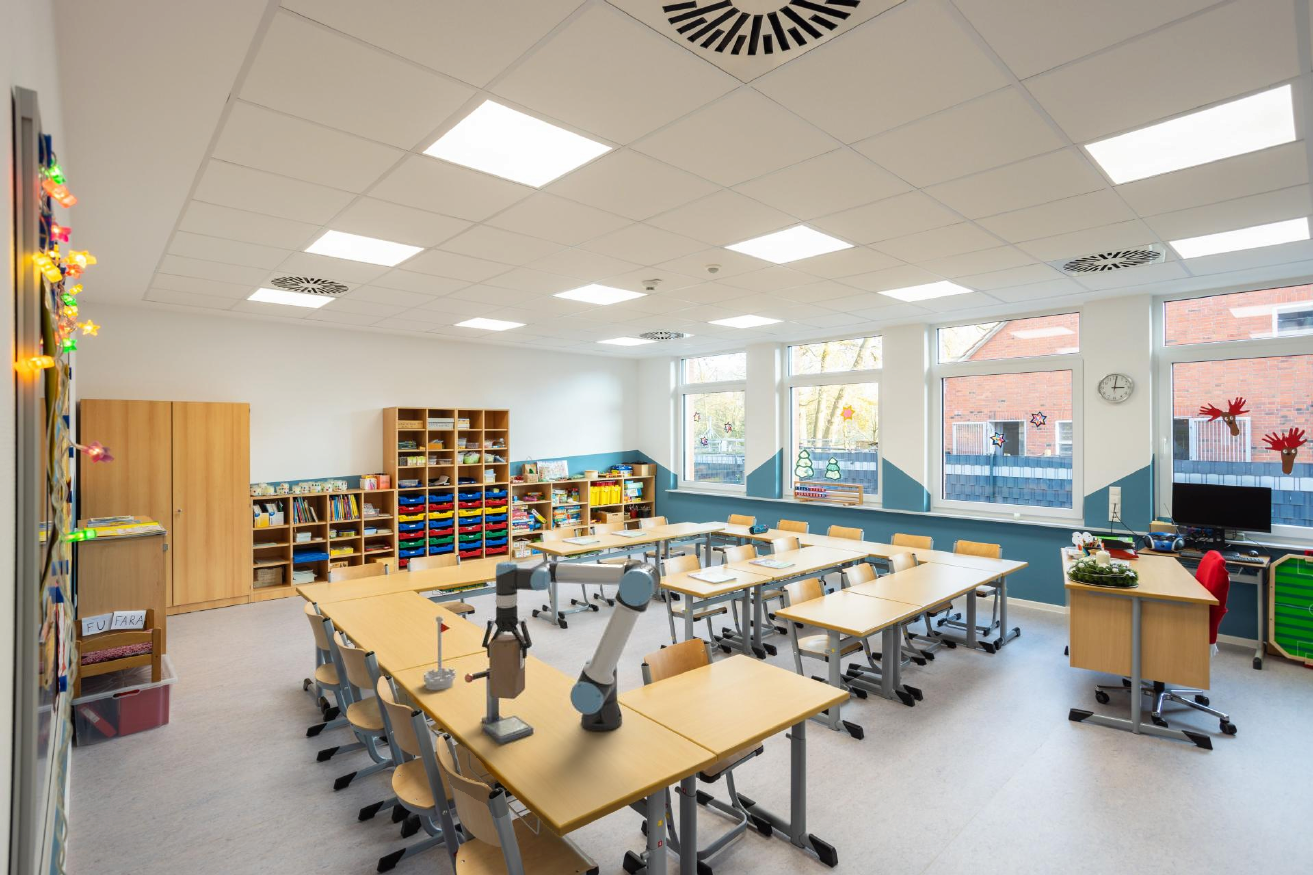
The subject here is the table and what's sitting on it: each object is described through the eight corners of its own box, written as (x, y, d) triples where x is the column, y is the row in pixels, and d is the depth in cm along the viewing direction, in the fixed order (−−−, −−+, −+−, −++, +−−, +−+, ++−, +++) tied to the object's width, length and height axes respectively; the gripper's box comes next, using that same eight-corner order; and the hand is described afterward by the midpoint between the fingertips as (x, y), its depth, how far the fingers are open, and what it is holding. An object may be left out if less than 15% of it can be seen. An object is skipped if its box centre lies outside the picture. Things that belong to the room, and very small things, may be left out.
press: (533, 733, 227) (533, 678, 228) (500, 744, 219) (499, 688, 219) (505, 713, 244) (504, 663, 244) (472, 723, 236) (472, 671, 236)
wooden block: (514, 700, 223) (514, 643, 223) (488, 698, 225) (488, 641, 225) (526, 689, 233) (525, 634, 233) (500, 687, 235) (500, 633, 235)
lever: (516, 678, 242) (516, 663, 243) (466, 691, 230) (466, 675, 230) (512, 675, 245) (512, 660, 245) (463, 689, 232) (463, 673, 232)
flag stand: (417, 689, 270) (416, 618, 270) (435, 678, 282) (434, 610, 283) (444, 692, 266) (444, 620, 267) (461, 680, 279) (460, 612, 279)
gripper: (540, 603, 232) (541, 663, 232) (479, 602, 234) (479, 662, 233) (535, 608, 224) (535, 671, 224) (471, 607, 226) (472, 669, 226)
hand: (507, 666), depth 229 cm, fingers closed on wooden block, 10 cm apart
